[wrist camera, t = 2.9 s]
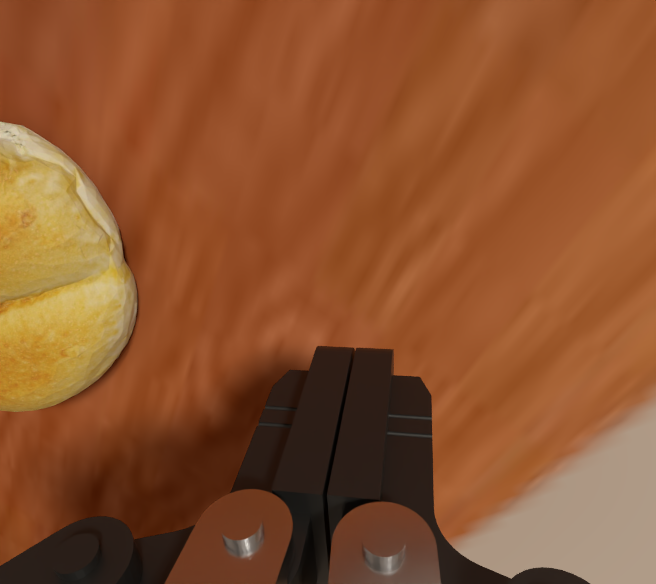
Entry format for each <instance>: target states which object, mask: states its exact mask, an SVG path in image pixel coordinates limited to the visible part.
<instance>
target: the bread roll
mask: <svg viewBox="0 0 656 584" xmlns="http://www.w3.org/2000/svg"><path fill="white" fill-rule="evenodd" d="M136 313H137V289H136V283H135V279H134V276H133V274H132V272H131V270H130V268H129V267H128V265H127V264H126V262H125V260H124V256H123V248H122V241H121V236H120V230H119V227H118V225H117V223H116V220H115V218H114V216H113V214H112V212H111V211H110V209H109V207H108V206H107V204H106V203H105V201H104V199H103V198H102V196H101V194H100V193H99V191H98V189H97V187H96V186H95V185H94V183H93V182H92V181H91V180H90V179H89V177H88V176H87V175H86V174H85V173H84V171H83V170H82V169H81V168H80V167H79V166H78V165H77V164H76V163H75V162H74V161H73V160H72V159H71V158H70V157H69V156H68V155H66V154H65V153H64V152H63V151H62V150H61V149H60V148H58V147H56V146H55V145H53V144H51V143H50V142H48V141H47V140H45V139H44V138H42V137H41V136H39V135H38V134H36V133H34V132H33V131H31V130H29V129H28V128H26V127H24V126H22V125H16V124H11V123H5V122H0V410H2V411H13V412H20V411H32V410H39V409H43V408H47V407H50V406H53V405H56V404H58V403H60V402H63V401H65V400H67V399H68V398H70V397H72V396H74V395H77V394H78V393H80V392H81V391H83V390H84V389H86V388H87V387H89V386H90V385H91V384H93V383H94V382H95V381H97V380H98V379H99V378H100V377H101V376H102V375H103V374H104V373H105V372H106V371H107V370H108V369H109V368H110V367H111V366H112V364H113V363H114V361H115V359H117V358H118V357H119V355H120V353H121V351H122V350H123V348H124V347H125V346H126V344H127V343H128V340H129V338H130V336H131V334H132V331H133V328H134V324H135V321H136Z"/></svg>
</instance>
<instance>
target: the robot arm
mask: <svg viewBox="0 0 656 584" xmlns="http://www.w3.org/2000/svg"><path fill="white" fill-rule="evenodd" d="M393 372H394V352H393V349H373V348H356V351H355V349H354V348H349V347H327V346H317V348H316V350H315V353H314V357H313V360H312V363H311V366H310V369H309V371H301V370H289V371H288V372H287V373H286V374H285V375H284V376H283V377H282V378H281V379H280V380H279V381H278V382H277V383H276V384H275V385H274V386H273V387H272V390H271V392H270V395H269V397H268V400H267V402H266V405H265V409H264V410H263V412H262V415H261V418H260V420H259V426H257V428H256V430H255V433H254V435H253V438H252V440H251V443H250V445H249V448H248V450H247V453H246V455H245V458H244V460H243V463H242V465H241V468H240V470H239V473H238V475H237V478H236V480H235V483H234V485H233V488H232V490H231V492H230V494H227V495H225V496H223V497H221V498H220V499H218V500H217V501H215V502H214V503H212V504H211V505H210V506H209V507H208V508H207V509H206V510H205V511H204V512H203V514H202V515H201V516H200V518H199V520H198V521H197V523H196V525H194V526H191V527H189V528H186V529H183V530H179V531H175V532H170V533H165V534H160V535H155V536H150V537H145V538H140V539H135V540H134V538H133V536H132V533H131V531H130V529H129V528H128V527H127V526H126V525H125V524H124V523H123V522H121V521H120V520H118V519H115V518H111V517H91V518H86V519H83V520H79V521H77V522H75V523H72V524H70V525H68V526H66V527H64V528H62V529H61V530H59V531H57V532H56V533H54V534H52V535H51V536H49V537H48V538H46V539H44V540H43V541H41V542H39V543H38V544H36V545H34V546H33V547H31V548H29V549H28V550H26V551H24V552H23V553H21V554H19V555H18V556H16V557H14V558H13V559H11V560H9V561H8V562H6V563H4V564H3V565H1V566H0V584H590V583H588V582H587V581H585V580H584V579H582V578H580V577H578V576H576V575H574V574H571V573H568V572H566V571H563V570H558V569H554V568H543V567H542V568H533V569H529V570H525V571H523V572H521V573H519V574H517V575H515V576H514V577H513V578H512V579H510V578H508V577H506V576H503V575H501V574H499V573H496V572H494V571H492V570H489V569H487V568H485V567H482V566H480V565H478V564H476V563H474V562H472V561H470V560H469V559H467V558H466V557H464V556H462V555H461V554H460V553H459V552H458V551H456V550H455V549H454V548H453V547H452V546H451V545H450V544H449V543H448V541H447V540H446V539H445V538H444V536H443V535H442V533H441V531H440V529H439V527H438V525H437V522H436V519H435V515H434V497H433V451H432V405H431V394H430V393H429V391H428V389H427V388H426V386H425V385H424V383H423V381H422V380H421V378H420V377H413V376H395V375H393Z"/></svg>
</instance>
